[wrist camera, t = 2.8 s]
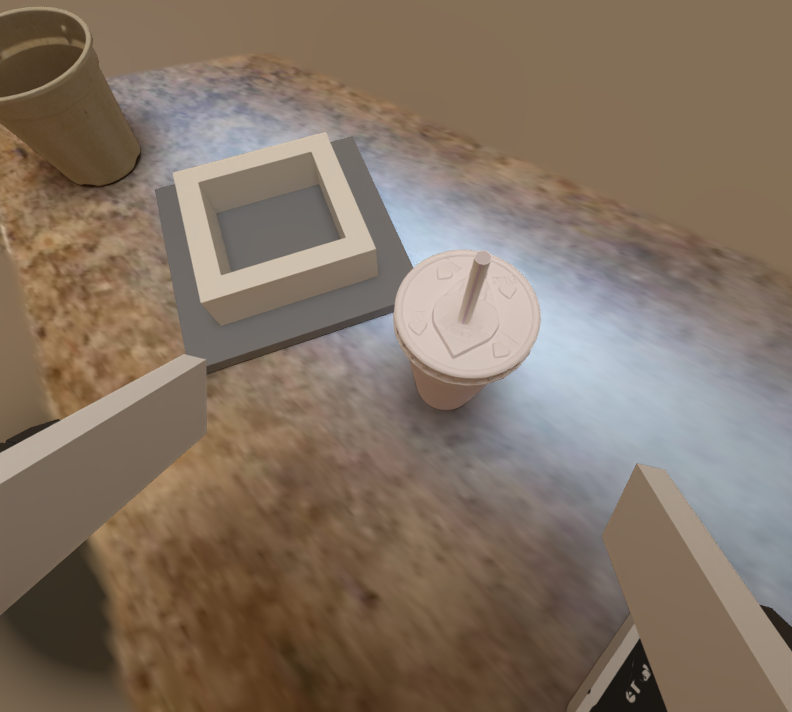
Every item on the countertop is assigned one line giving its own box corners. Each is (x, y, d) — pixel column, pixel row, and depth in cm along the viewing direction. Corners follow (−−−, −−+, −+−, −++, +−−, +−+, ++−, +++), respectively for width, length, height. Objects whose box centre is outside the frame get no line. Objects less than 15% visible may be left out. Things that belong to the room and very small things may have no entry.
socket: (424, 301, 29) (428, 268, 25) (196, 377, 27) (164, 353, 23) (353, 146, 35) (348, 101, 31) (161, 199, 33) (131, 157, 29)
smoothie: (381, 413, 26) (363, 298, 13) (412, 326, 28) (422, 155, 15) (481, 445, 25) (568, 356, 12) (504, 352, 27) (597, 195, 14)
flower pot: (109, 220, 32) (13, 118, 24) (19, 181, 34) (-99, 73, 26) (183, 140, 35) (120, 27, 27) (97, 109, 37) (14, -7, 29)
